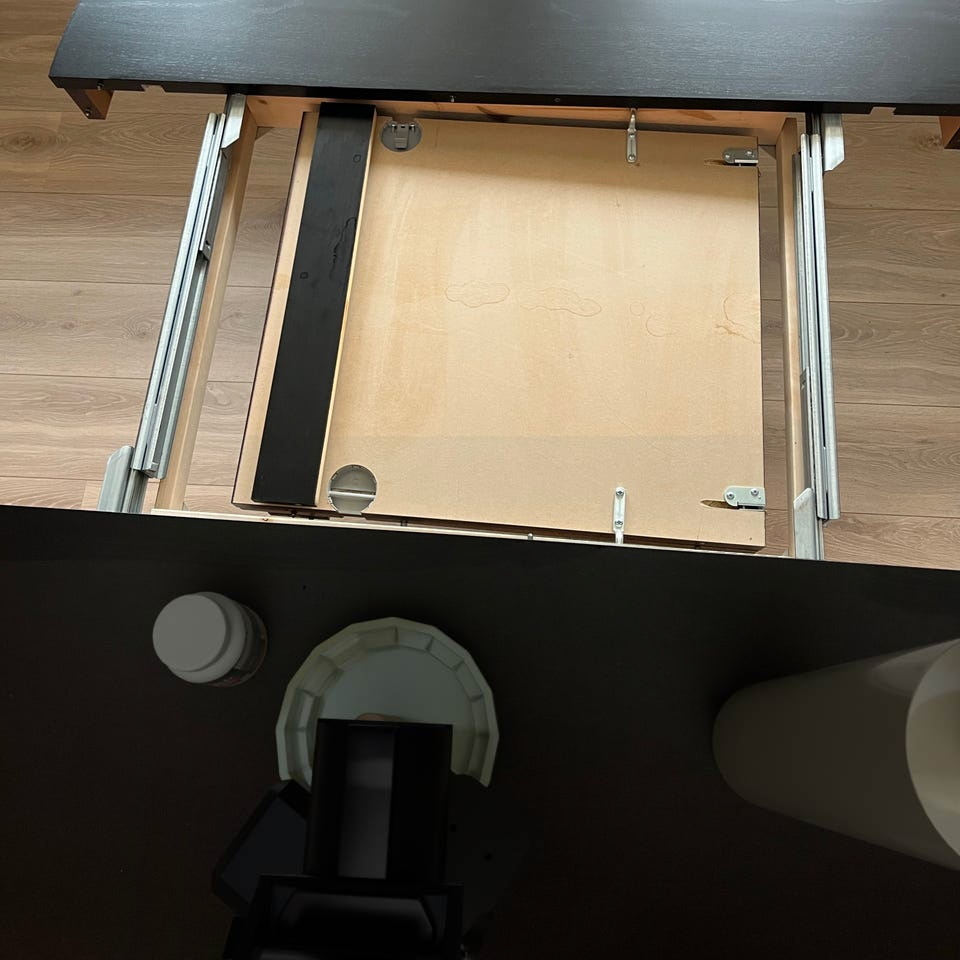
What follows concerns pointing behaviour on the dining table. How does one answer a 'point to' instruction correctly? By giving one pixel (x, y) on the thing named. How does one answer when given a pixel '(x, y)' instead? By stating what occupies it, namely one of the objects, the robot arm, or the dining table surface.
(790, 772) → the vase
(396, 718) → the stick
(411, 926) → the robot arm
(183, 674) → the pill bottle
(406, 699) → the bowl
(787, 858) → the dining table surface
